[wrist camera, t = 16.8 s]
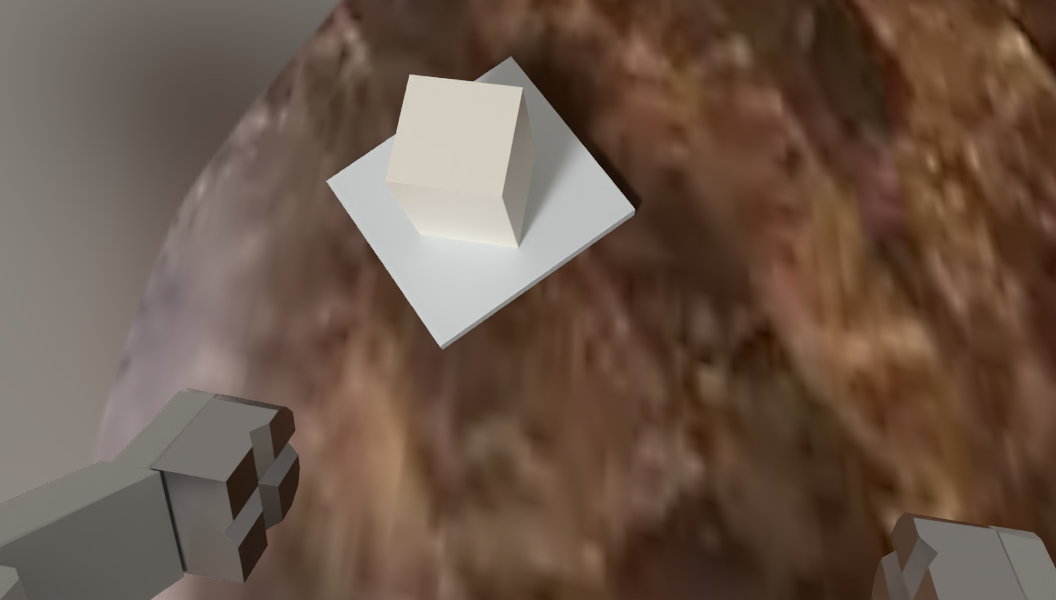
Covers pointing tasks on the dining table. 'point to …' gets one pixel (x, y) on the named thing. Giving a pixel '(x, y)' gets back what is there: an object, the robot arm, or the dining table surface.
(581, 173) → the stud board
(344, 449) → the dining table surface
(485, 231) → the cream rectangular block
